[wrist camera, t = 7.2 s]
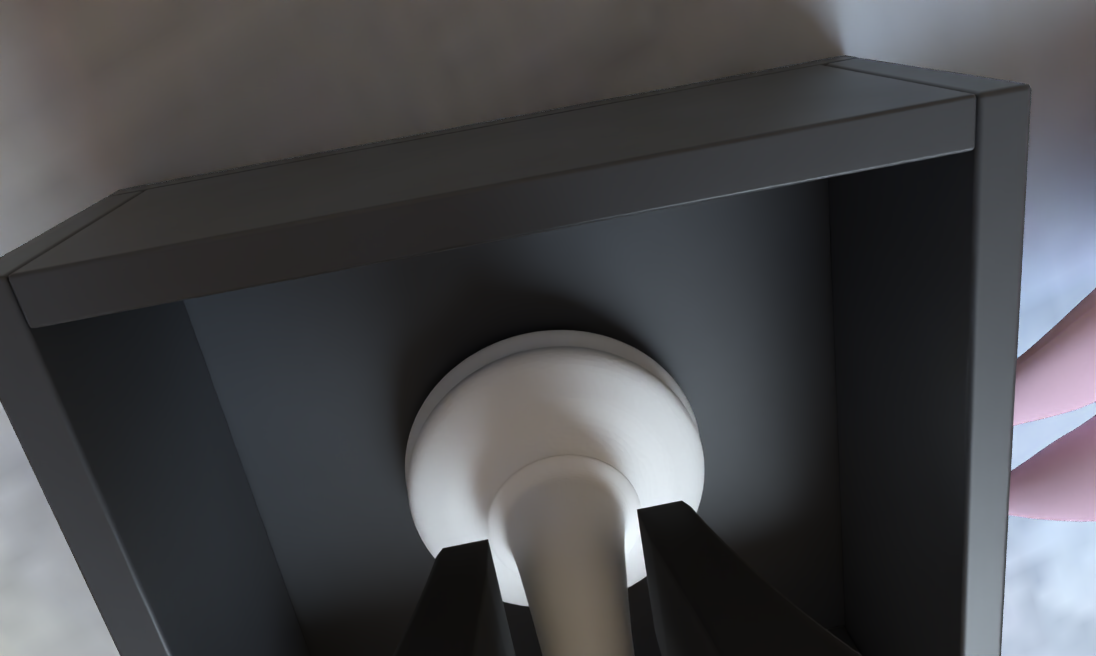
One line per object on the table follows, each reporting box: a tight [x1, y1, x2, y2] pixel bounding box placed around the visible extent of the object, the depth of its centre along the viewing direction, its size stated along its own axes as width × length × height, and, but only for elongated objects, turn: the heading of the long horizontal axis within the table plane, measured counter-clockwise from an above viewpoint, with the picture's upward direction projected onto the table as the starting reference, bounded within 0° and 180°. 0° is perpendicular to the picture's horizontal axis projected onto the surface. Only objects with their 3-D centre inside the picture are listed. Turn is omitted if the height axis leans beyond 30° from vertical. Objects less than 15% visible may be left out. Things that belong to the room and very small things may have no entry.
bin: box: [0, 55, 1031, 656], centre depth 13 cm, size 11×11×4 cm
